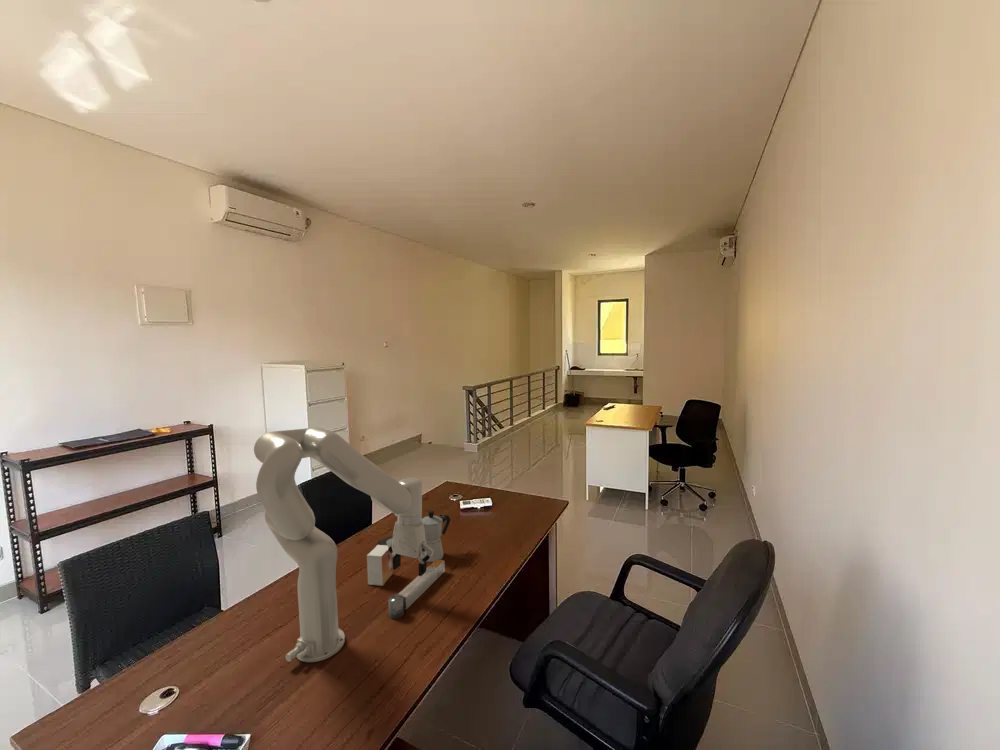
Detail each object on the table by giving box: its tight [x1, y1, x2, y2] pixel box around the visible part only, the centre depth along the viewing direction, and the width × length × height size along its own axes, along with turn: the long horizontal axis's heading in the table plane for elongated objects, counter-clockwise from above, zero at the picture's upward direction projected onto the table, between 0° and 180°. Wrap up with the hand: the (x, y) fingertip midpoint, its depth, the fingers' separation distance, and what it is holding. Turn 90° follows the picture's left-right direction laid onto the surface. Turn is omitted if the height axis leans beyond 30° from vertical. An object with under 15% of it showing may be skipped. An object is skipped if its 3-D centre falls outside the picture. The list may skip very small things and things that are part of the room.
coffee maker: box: [421, 509, 452, 563], centre depth 165 cm, size 15×9×18 cm, turn 131°
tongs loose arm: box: [402, 559, 446, 611], centre depth 144 cm, size 23×2×4 cm, turn 157°
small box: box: [366, 544, 394, 586], centre depth 150 cm, size 8×6×10 cm
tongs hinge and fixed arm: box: [387, 560, 440, 620], centre depth 142 cm, size 28×4×5 cm, turn 157°
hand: (409, 570), depth 138 cm, fingers open, 9 cm apart
